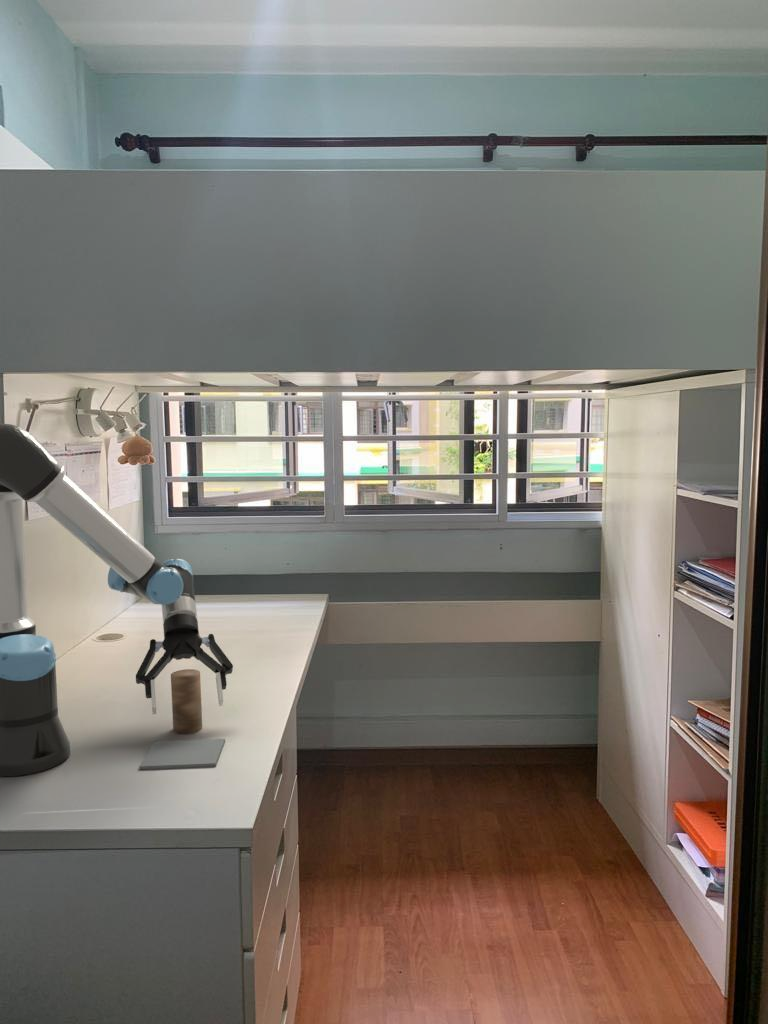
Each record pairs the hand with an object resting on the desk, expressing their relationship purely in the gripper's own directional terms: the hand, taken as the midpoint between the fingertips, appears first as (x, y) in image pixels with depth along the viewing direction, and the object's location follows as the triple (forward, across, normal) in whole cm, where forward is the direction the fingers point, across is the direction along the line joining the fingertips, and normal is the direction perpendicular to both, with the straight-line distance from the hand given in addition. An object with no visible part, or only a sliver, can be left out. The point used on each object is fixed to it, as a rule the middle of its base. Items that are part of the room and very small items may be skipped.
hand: (188, 707), depth 160 cm
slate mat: (+12, +2, +5) cm, 13 cm away
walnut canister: (+2, 0, -5) cm, 6 cm away
